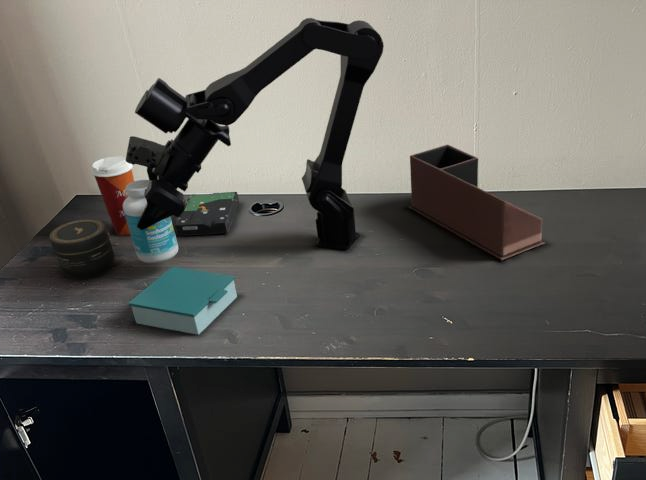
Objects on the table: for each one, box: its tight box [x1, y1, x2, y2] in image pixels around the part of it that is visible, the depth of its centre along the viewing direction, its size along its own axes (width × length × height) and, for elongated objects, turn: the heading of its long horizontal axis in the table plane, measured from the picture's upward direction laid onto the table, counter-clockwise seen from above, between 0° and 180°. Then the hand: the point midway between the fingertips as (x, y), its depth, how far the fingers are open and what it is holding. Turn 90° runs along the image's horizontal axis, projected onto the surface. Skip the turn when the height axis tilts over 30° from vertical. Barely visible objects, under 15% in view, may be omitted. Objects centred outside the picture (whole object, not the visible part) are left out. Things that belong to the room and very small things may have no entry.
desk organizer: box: [408, 144, 546, 262], centre depth 140 cm, size 10×29×11 cm, turn 34°
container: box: [128, 266, 238, 336], centre depth 122 cm, size 14×12×4 cm
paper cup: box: [91, 155, 135, 236], centre depth 145 cm, size 8×8×14 cm
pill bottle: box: [123, 179, 179, 264], centre depth 130 cm, size 8×7×14 cm
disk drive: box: [174, 191, 240, 236], centre depth 151 cm, size 10×3×15 cm
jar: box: [48, 219, 115, 280], centre depth 134 cm, size 10×10×8 cm
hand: (140, 218), depth 129 cm, fingers closed on pill bottle, 7 cm apart
